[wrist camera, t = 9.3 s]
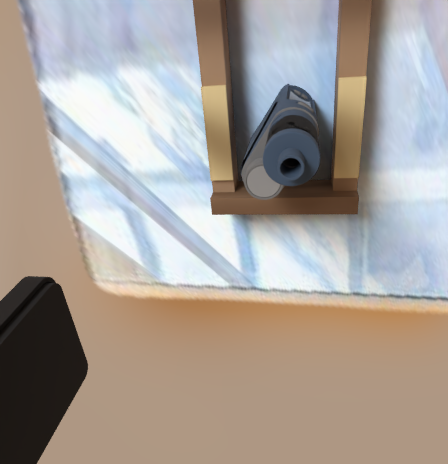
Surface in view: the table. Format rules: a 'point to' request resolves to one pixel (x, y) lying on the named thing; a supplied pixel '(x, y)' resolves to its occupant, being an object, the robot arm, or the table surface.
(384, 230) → the table surface
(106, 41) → the table surface
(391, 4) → the table surface
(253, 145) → the vaping device
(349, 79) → the rail channel
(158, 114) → the table surface
